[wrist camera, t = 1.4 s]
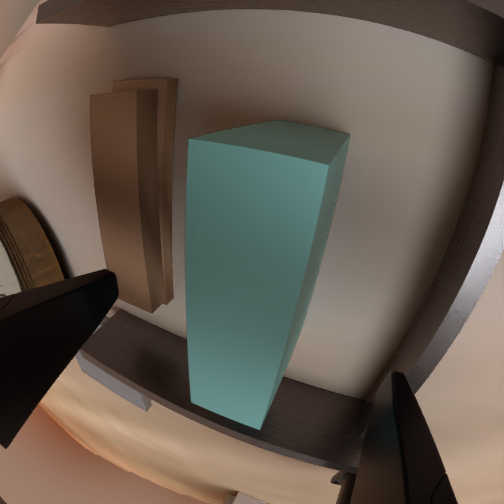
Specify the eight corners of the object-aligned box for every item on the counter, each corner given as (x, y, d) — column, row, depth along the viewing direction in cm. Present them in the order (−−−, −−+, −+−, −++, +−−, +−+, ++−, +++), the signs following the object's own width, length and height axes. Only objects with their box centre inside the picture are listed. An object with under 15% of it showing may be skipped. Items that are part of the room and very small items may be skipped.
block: (303, 322, 16) (259, 430, 10) (252, 306, 17) (191, 402, 11) (350, 134, 11) (328, 164, 5) (279, 119, 12) (188, 138, 6)
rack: (371, 411, 18) (359, 474, 13) (122, 318, 23) (81, 356, 19) (514, 53, 6) (576, 38, 2) (110, 11, 12) (38, 5, 7)
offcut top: (166, 299, 18) (152, 313, 17) (127, 284, 19) (113, 296, 18) (157, 89, 12) (137, 90, 11) (111, 93, 13) (90, 95, 12)
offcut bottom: (179, 292, 20) (166, 305, 18) (137, 275, 21) (123, 285, 19) (185, 79, 13) (167, 78, 12) (132, 80, 14) (113, 80, 13)
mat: (151, 405, 29) (146, 411, 28) (87, 365, 32) (82, 370, 31) (133, 331, 23) (125, 339, 22) (59, 289, 26) (52, 294, 25)
